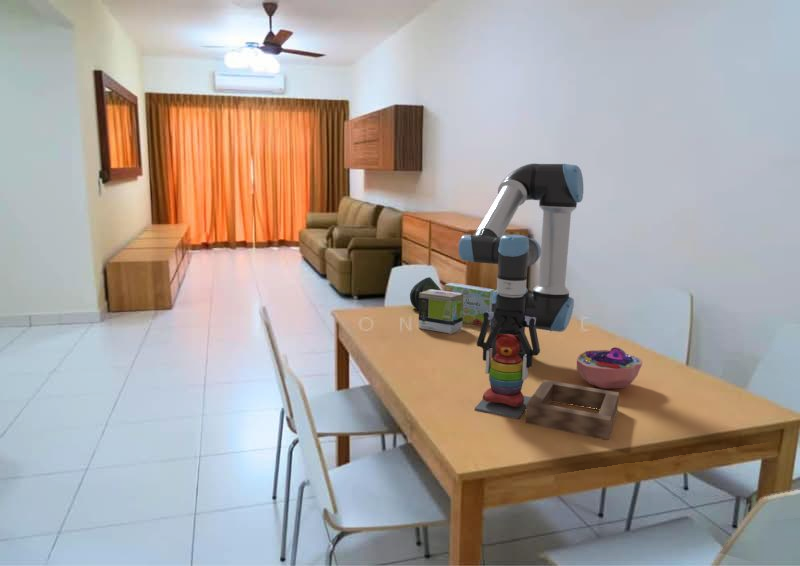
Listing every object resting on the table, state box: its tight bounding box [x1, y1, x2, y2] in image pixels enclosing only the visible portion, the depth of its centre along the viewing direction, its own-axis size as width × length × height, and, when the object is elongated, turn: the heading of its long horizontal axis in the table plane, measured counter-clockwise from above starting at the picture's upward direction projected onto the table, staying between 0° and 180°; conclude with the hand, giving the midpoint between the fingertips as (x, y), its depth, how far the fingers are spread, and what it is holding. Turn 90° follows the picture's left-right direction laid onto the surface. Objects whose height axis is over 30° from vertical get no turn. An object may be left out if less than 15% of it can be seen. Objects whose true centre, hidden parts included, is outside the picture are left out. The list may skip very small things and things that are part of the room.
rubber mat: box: [474, 395, 532, 420], centre depth 160 cm, size 12×15×1 cm
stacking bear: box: [482, 334, 525, 407], centre depth 158 cm, size 11×10×18 cm
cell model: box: [576, 346, 643, 390], centre depth 175 cm, size 17×20×11 cm
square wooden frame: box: [524, 379, 620, 441], centre depth 153 cm, size 20×20×5 cm
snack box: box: [444, 282, 496, 327], centre depth 244 cm, size 21×6×15 cm, turn 55°
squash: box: [409, 276, 442, 310], centre depth 264 cm, size 14×15×15 cm
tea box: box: [418, 289, 463, 335], centre depth 232 cm, size 15×10×15 cm, turn 58°
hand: (506, 375), depth 159 cm, fingers closed on stacking bear, 9 cm apart
